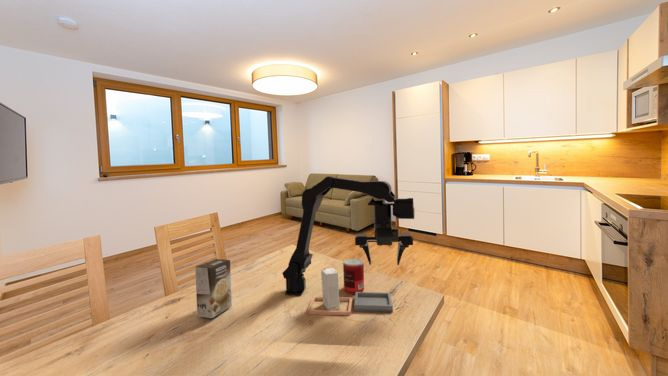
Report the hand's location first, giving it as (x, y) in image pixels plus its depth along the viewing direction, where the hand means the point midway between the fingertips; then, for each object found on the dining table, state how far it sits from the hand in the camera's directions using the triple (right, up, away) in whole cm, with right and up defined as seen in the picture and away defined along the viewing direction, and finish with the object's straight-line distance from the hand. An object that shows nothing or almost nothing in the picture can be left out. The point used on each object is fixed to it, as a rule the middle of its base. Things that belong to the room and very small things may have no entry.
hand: (384, 264), depth 92 cm
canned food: (-9, -13, +12) cm, 20 cm away
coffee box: (-56, -15, -1) cm, 58 cm away
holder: (-18, -14, -1) cm, 23 cm away
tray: (-4, -13, 0) cm, 14 cm away
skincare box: (-18, -14, -1) cm, 23 cm away
